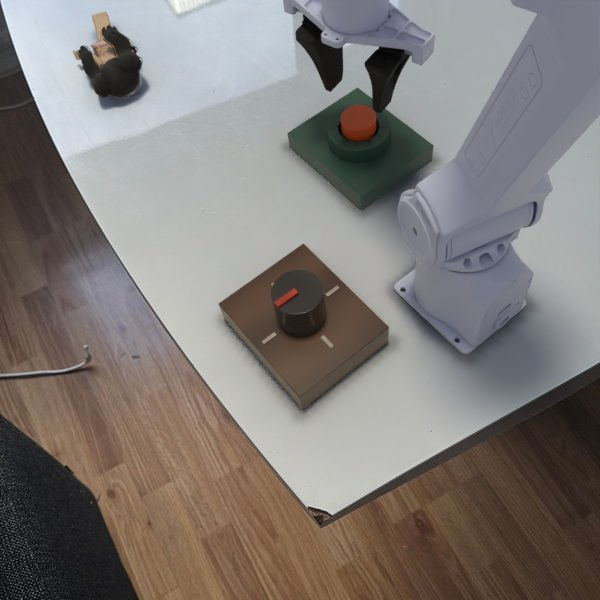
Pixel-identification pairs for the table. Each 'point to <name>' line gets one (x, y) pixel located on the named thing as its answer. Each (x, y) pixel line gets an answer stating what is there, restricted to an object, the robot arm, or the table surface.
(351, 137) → the button
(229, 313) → the panel
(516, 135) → the robot arm
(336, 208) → the table surface
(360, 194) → the button box
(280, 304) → the knob
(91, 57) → the toy figure
